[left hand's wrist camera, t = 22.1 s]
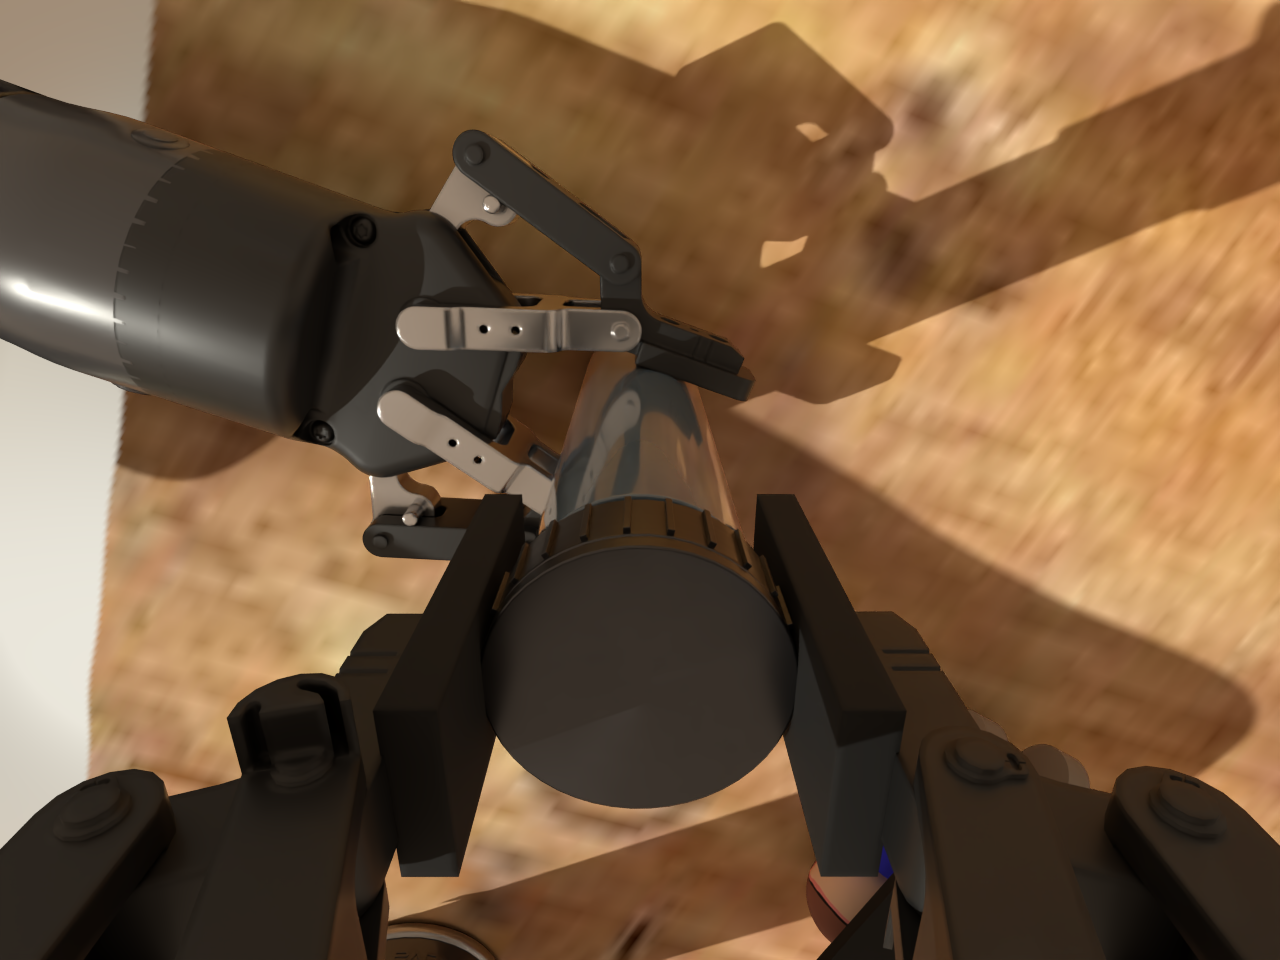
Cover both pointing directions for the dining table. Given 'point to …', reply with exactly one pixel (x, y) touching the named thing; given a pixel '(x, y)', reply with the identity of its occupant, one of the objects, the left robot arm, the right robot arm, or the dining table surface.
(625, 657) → the lid
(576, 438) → the grey cylinder
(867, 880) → the figurine character
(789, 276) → the dining table surface
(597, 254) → the right robot arm
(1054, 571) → the dining table surface
